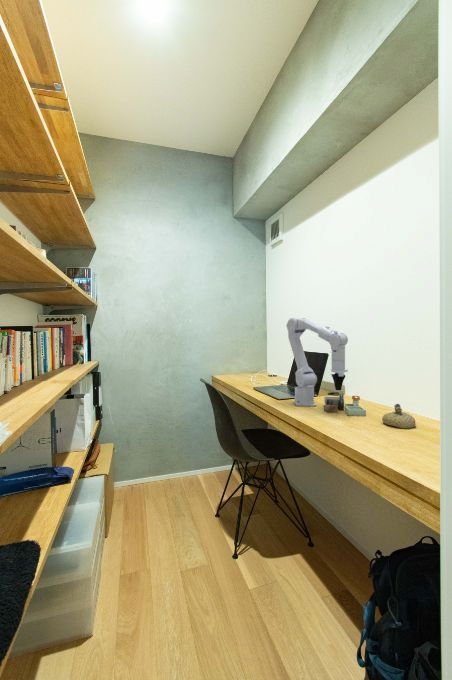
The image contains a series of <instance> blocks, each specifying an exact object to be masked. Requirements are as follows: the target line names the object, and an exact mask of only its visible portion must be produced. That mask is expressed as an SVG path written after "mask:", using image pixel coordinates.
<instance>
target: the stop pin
mask: <svg viewBox="0 0 452 680" xmlns="http://www.w3.org/2000/svg"><path fill="white" fill-rule="evenodd" d="M351 399H352V404H353V408H352V410H358V406H360V403H359V402H360V399H361V396H360V395H352V396H351Z"/></svg>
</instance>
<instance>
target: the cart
mask: <svg viewBox="0 0 452 680" xmlns="http://www.w3.org/2000/svg"><path fill="white" fill-rule="evenodd" d="M338 393H339V394H338V396H324V399H323V401H324V402H323V403H324V405H336V406H338V410H340V411H342V410H344V411H345V399H344V398H345V397H344V393H343V392H342V391H339V392H338Z"/></svg>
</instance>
